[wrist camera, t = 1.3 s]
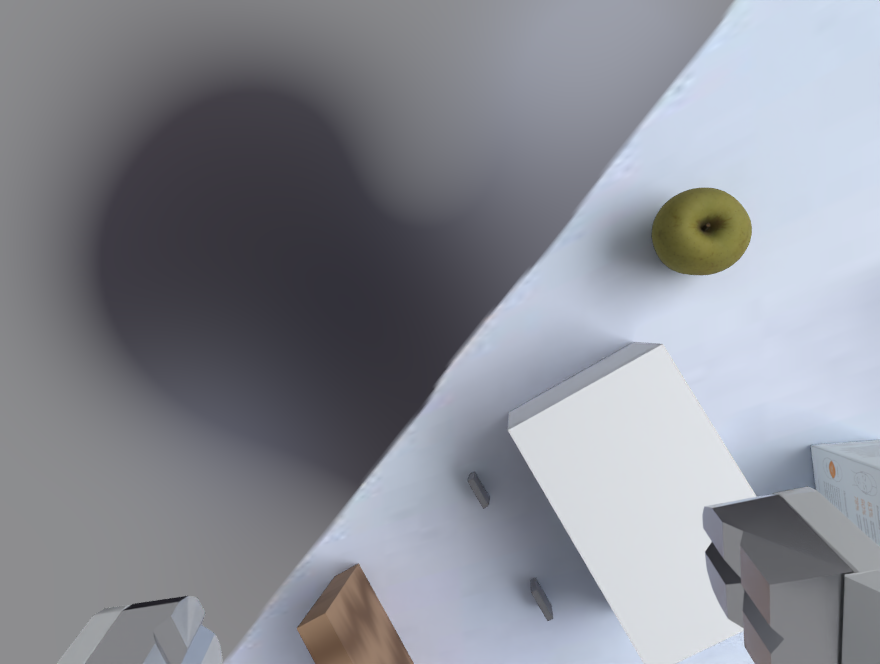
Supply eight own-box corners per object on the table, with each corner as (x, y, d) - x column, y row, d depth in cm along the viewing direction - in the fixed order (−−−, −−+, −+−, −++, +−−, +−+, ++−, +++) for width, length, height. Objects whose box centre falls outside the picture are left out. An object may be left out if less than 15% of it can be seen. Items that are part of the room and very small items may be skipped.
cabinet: (757, 543, 50) (817, 595, 40) (564, 639, 52) (576, 711, 42) (633, 341, 52) (663, 343, 42) (452, 444, 54) (438, 469, 44)
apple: (652, 193, 51) (675, 171, 44) (738, 211, 50) (775, 191, 43) (632, 269, 52) (652, 259, 44) (717, 288, 51) (751, 281, 43)
